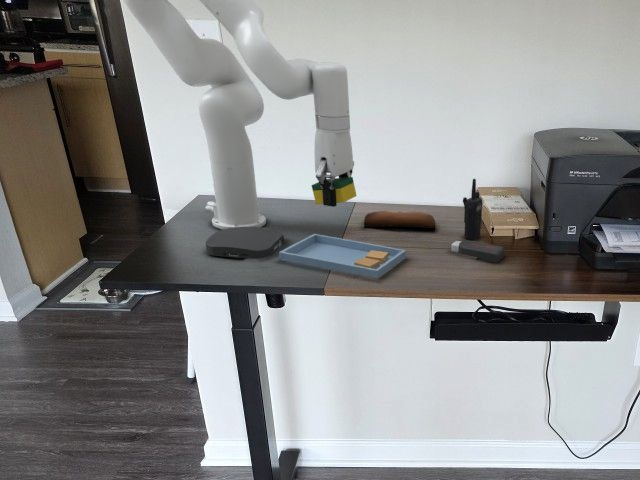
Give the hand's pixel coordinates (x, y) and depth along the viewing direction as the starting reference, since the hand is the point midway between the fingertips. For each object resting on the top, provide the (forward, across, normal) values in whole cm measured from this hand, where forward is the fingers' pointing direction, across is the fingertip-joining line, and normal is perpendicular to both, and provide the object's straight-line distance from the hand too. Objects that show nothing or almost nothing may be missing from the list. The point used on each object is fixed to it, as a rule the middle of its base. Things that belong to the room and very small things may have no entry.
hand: (337, 201), depth 161 cm
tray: (+8, +15, +10) cm, 20 cm away
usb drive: (+9, -3, +34) cm, 36 cm away
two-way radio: (+9, -15, +28) cm, 33 cm away
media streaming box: (+8, +18, -14) cm, 24 cm away
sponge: (0, 0, 0) cm, 0 cm away
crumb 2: (+8, +12, +16) cm, 22 cm away
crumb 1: (+8, +18, +16) cm, 25 cm away
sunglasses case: (+9, -14, +10) cm, 19 cm away
